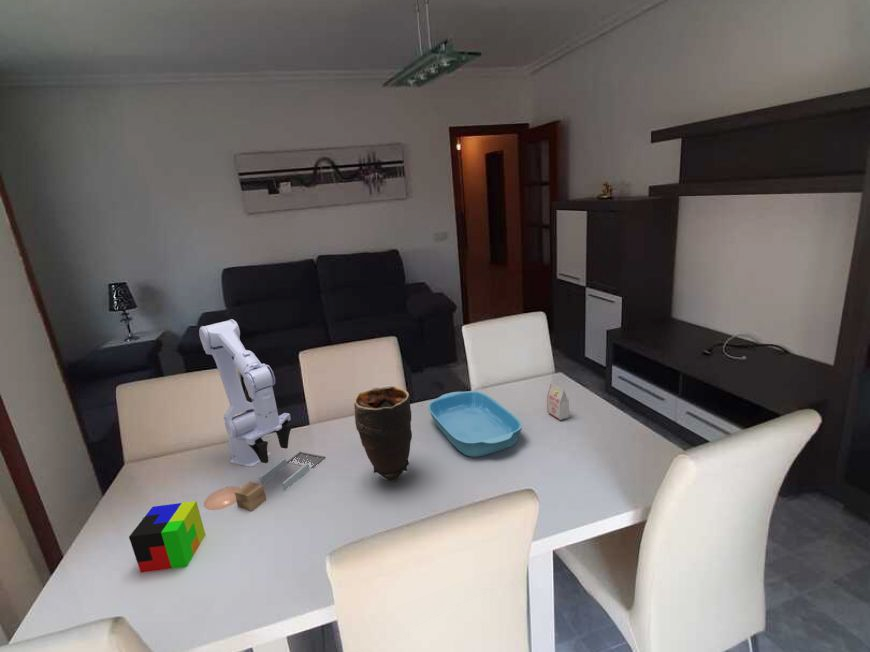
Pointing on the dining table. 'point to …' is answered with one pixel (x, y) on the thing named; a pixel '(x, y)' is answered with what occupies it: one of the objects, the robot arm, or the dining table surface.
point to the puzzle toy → (167, 536)
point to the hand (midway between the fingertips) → (274, 454)
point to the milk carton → (557, 402)
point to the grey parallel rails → (280, 466)
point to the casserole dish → (475, 422)
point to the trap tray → (313, 459)
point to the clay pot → (385, 428)
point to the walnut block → (250, 496)
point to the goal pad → (221, 498)
